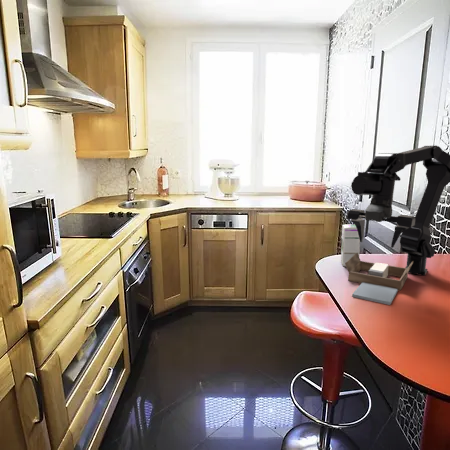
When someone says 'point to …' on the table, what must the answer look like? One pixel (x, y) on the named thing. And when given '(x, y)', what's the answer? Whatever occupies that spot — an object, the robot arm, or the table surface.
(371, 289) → the mat
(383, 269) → the cream box
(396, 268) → the carton
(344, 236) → the syrup box
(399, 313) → the table surface
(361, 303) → the table surface
